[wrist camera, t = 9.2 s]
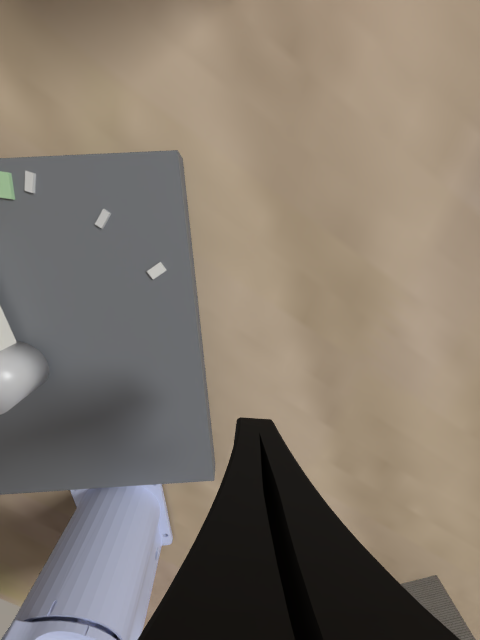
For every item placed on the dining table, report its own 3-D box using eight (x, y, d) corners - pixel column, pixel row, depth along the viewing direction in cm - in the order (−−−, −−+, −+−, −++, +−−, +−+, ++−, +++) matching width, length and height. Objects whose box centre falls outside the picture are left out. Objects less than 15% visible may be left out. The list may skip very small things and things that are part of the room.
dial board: (215, 465, 23) (214, 482, 21) (-55, 482, 22) (-77, 501, 21) (182, 158, 15) (176, 149, 13) (-235, 177, 14) (-294, 170, 13)
